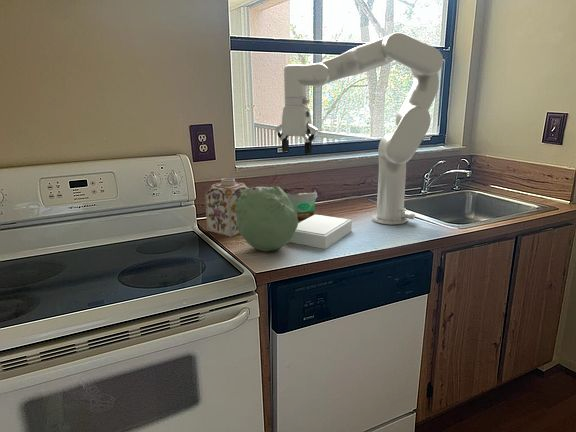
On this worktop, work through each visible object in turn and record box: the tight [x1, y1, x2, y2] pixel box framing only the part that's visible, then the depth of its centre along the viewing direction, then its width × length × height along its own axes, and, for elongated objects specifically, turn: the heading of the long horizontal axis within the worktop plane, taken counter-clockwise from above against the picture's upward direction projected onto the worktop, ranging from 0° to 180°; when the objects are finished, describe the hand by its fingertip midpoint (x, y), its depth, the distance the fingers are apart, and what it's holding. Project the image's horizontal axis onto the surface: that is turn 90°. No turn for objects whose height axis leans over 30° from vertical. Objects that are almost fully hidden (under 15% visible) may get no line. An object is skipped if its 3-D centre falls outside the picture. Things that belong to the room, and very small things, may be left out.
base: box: [287, 214, 353, 250], centre depth 149 cm, size 14×20×4 cm
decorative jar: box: [204, 177, 249, 238], centre depth 154 cm, size 12×12×18 cm
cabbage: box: [234, 185, 299, 252], centre depth 135 cm, size 16×19×20 cm
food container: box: [286, 189, 318, 222], centre depth 167 cm, size 12×6×10 cm, turn 114°
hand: (296, 152), depth 160 cm, fingers open, 9 cm apart
